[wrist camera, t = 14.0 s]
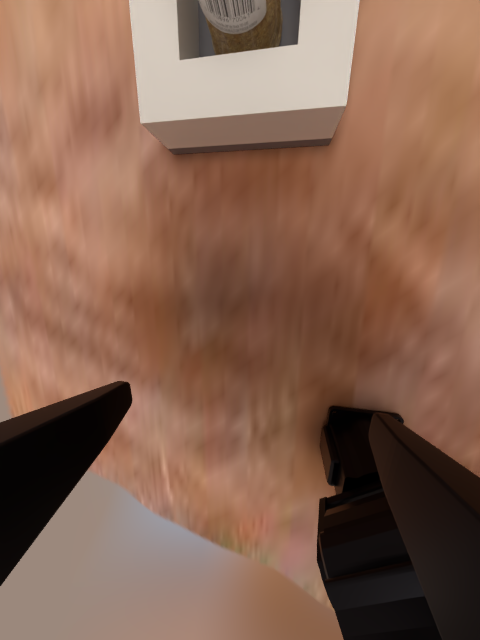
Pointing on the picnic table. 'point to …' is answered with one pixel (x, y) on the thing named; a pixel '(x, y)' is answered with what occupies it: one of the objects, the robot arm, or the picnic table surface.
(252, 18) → the sprinkles bottle
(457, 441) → the picnic table surface
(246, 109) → the socket block
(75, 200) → the picnic table surface
